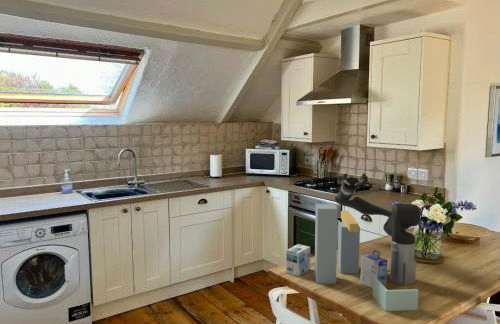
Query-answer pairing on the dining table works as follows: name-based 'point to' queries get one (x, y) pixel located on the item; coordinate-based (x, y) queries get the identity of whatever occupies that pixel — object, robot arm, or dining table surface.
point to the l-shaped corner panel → (395, 297)
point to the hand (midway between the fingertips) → (355, 175)
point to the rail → (349, 221)
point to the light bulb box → (298, 260)
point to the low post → (348, 249)
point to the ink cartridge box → (373, 269)
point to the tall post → (325, 243)
